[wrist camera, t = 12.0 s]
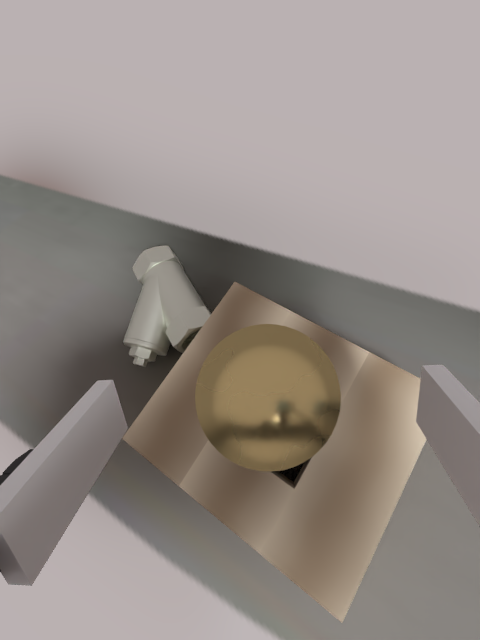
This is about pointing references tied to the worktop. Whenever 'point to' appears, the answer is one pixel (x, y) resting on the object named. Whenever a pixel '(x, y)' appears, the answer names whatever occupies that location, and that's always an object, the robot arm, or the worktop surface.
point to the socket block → (317, 472)
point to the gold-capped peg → (268, 397)
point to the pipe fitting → (163, 307)
